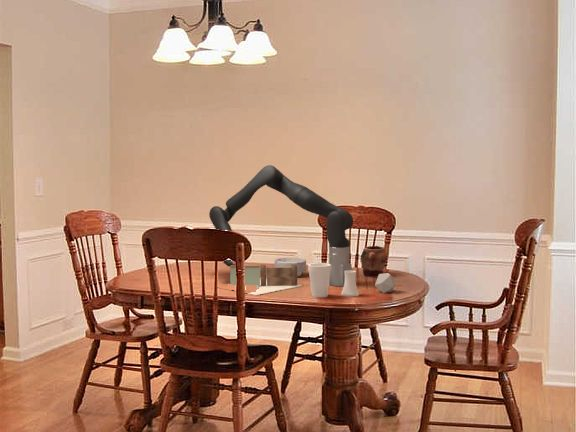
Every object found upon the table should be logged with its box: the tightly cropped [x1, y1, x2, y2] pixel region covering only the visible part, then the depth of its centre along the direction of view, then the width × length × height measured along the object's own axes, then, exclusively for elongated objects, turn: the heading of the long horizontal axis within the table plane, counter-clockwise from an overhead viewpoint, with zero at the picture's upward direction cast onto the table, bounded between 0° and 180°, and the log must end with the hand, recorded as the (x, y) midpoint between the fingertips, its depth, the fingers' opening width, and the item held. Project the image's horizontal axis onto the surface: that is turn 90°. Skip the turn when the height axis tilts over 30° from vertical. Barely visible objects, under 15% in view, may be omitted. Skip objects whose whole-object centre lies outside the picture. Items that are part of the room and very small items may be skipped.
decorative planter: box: [360, 245, 387, 278], centre depth 330 cm, size 20×12×14 cm, turn 168°
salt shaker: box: [340, 270, 360, 298], centre depth 287 cm, size 8×8×10 cm
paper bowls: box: [274, 257, 307, 278], centre depth 333 cm, size 15×15×8 cm
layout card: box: [245, 278, 304, 296], centre depth 306 cm, size 26×28×1 cm
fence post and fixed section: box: [260, 264, 298, 286], centre depth 307 cm, size 16×2×9 cm, turn 90°
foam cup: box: [307, 262, 331, 298], centre depth 286 cm, size 10×9×13 cm
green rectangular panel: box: [229, 264, 261, 285], centre depth 307 cm, size 13×2×9 cm, turn 90°
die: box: [374, 272, 398, 294], centre depth 293 cm, size 8×9×10 cm
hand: (237, 272), depth 313 cm, fingers closed
